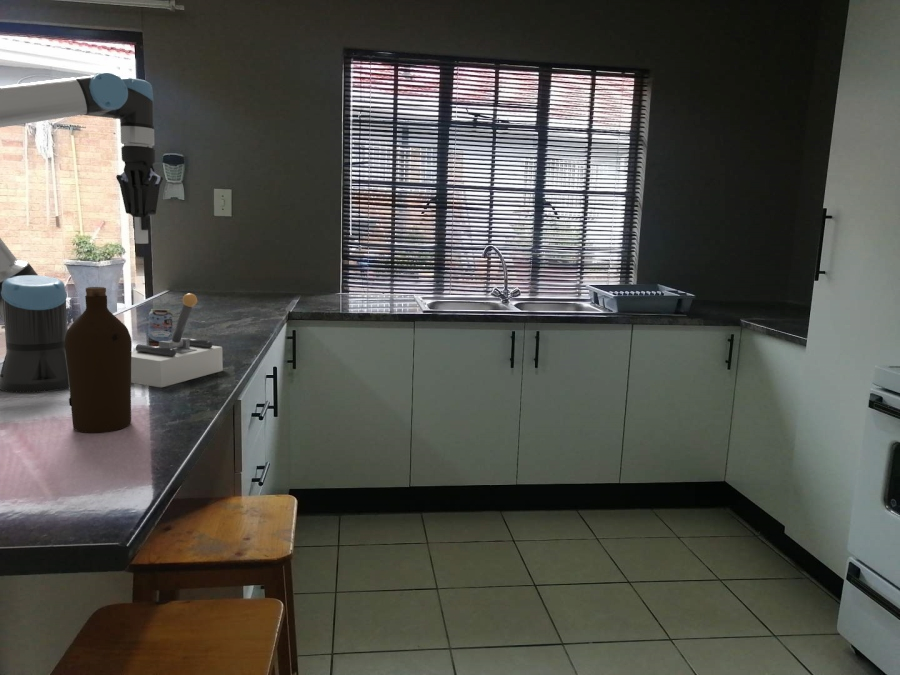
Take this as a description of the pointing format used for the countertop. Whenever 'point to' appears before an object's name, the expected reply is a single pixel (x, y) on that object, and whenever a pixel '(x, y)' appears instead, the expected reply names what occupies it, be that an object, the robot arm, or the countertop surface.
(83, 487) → the countertop surface
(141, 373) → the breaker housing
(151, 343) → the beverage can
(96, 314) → the olive oil
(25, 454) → the countertop surface
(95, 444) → the countertop surface
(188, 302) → the lever
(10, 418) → the countertop surface
